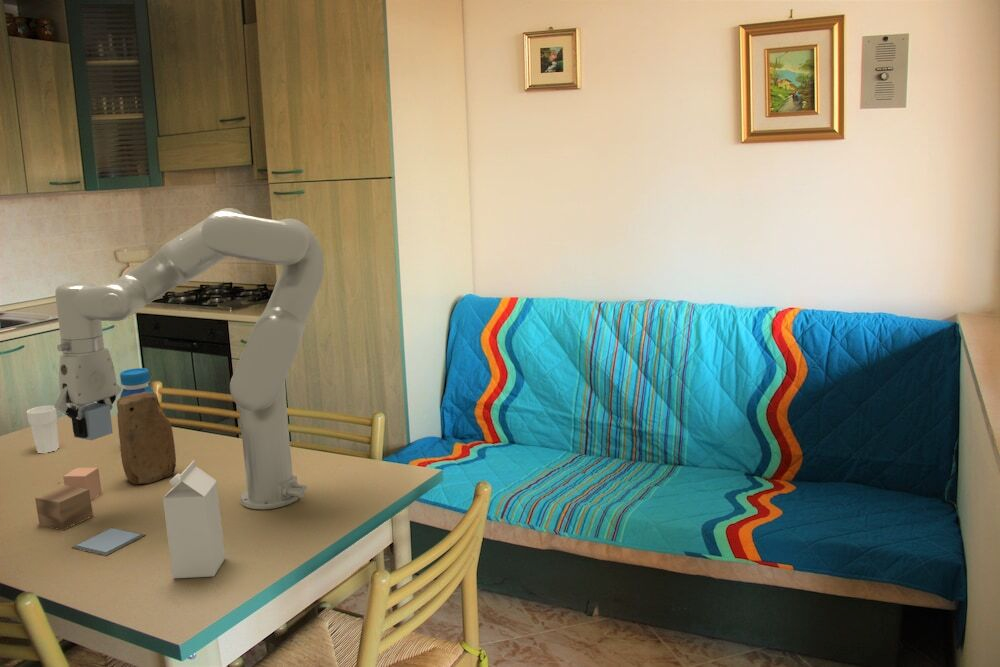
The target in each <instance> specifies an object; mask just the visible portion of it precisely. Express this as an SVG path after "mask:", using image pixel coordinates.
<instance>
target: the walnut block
mask: <svg viewBox="0 0 1000 667" xmlns="http://www.w3.org/2000/svg"><path fill="white" fill-rule="evenodd" d="M34 500H35V505H36V506H35V507H36V512H37V519H38V524H39V526H41V525H43V526H42V527H46V526H48V528H51V527H52V528H51V529H56V528H58V529H57V530H60V529H65V528H67V527H69V526H71V525H73V524H76V523H78V522H80V521H82V520H84V519H86V518H88V517H90V518H92V517H91V516H93V517H94V513H93V507H92V505H93V504H92V501H91V499H90V492H89V489H84V488H78V487H72V486H67V485H62V486H60V487H58V488H56V489H53V490H51V491H48V492H45V493H43V494H41V495H38V496H37V497H34ZM88 519H89V518H88ZM86 520H87V519H86ZM84 521H85V520H84ZM82 522H83V521H82ZM80 523H81V522H80ZM78 524H79V523H78ZM76 525H77V524H76ZM73 526H74V525H73ZM71 527H72V526H71ZM69 528H70V527H69ZM67 529H68V528H67ZM65 530H66V529H65Z"/></svg>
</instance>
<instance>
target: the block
mask: <svg viewBox="0 0 1000 667" xmlns="http://www.w3.org/2000/svg"><path fill="white" fill-rule="evenodd" d="M116 408H117V426H118V427H117V429H118V438H119V444H120V447H119V449H120V456H121V464H122V468H123V472H124V474H125V477H126V478H127V480H128V481H129V482H130V483H131V484H134V485H142V484H144V485H145V484H150V483H154V482H158V481H159V480H161V479H166V478H168V477H170V476H171V475H172V474H174V473H175V471H176V466H177V461H176V445H175V440H174V432H173V426H172V424H171V422H170V419H168V418H167V416H166V414H165V412H164V411H163V409H162V408H161V404H160V401H159V397H158V395H157V393H155V392H154V393H153V392H142V393H138V394H132V395H128V396H124V397H122V398H120V397H119V398H118V399H117V401H116Z"/></svg>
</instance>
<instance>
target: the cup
mask: <svg viewBox="0 0 1000 667" xmlns="http://www.w3.org/2000/svg"><path fill="white" fill-rule="evenodd" d="M26 415H27V420H28V421H27V422H28V424H29V425H30V427H31V432H32V433H31V434H32V437H33V441H34V446H35V450H36V451H37V452H38V453H47V452H51V451H55V450H57V449H58V448H59V449H60V445H59V436H58V435H59V432H58V424H57V423H58V422H57V420H58V416H57V415H58V414H57V409H55V405H42V406H36V407H33V408H29V409H28V410H26ZM59 449H58V450H59ZM58 450H57V451H58ZM37 452H36V453H37ZM55 452H56V451H55ZM38 453H37V454H38ZM51 453H52V452H51ZM47 454H48V453H47Z"/></svg>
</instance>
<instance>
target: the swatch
mask: <svg viewBox="0 0 1000 667" xmlns="http://www.w3.org/2000/svg"><path fill="white" fill-rule="evenodd" d="M104 531H105V532H104ZM104 531H101V532H100V534H99V533H98V534H96V535H94V536H92V537H89V538H90V539H89V538H88V539H86V540H83V541H81V542H79V543H77V544H75V545H73V546H71V549H73V548H77V549H76V550H78V549H81V550H80V551H82V550H85V551H84V552H86V551H90V552H93V553H92V554H95V553H97V554H96V555H99V554H101V555H100V556H103V555H107V556H109V555H111V554H113V553H115V552H117V551H119V550H120V548H121V547H123V548H125V547H126V546H128V545H130V544H132V543H133V541H134V542H136V541H137V539H138V540H139V538H140V539H141V537H142V538H144V537H145V536H144V535H146V533H145V534H144V533H140V532H136V531H131V530H126V529H122V528H117V527H110V528H107V529H106V530H104ZM143 536H144V537H143ZM135 540H136V541H135ZM131 542H132V543H131ZM129 543H130V544H129ZM125 545H126V546H125ZM124 546H125V547H124ZM118 549H119V550H118ZM121 549H122V548H121ZM116 550H117V551H116ZM114 551H115V552H114ZM90 552H89V553H90ZM112 552H113V553H112ZM110 553H111V554H110ZM108 554H109V555H108Z"/></svg>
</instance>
